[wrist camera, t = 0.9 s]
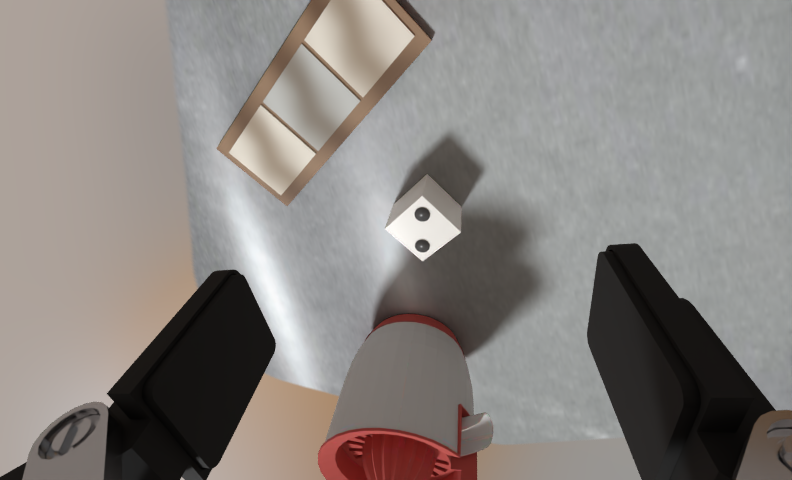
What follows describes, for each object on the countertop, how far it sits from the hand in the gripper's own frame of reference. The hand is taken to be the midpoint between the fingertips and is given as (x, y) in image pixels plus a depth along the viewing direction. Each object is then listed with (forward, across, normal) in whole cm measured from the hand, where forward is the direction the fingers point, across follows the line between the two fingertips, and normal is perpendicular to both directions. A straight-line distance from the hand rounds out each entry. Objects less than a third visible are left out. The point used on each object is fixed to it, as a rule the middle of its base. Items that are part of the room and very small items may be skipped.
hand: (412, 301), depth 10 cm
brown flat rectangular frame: (+27, +12, -1) cm, 30 cm away
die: (+27, +2, +11) cm, 29 cm away
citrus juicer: (+27, +6, +31) cm, 42 cm away
